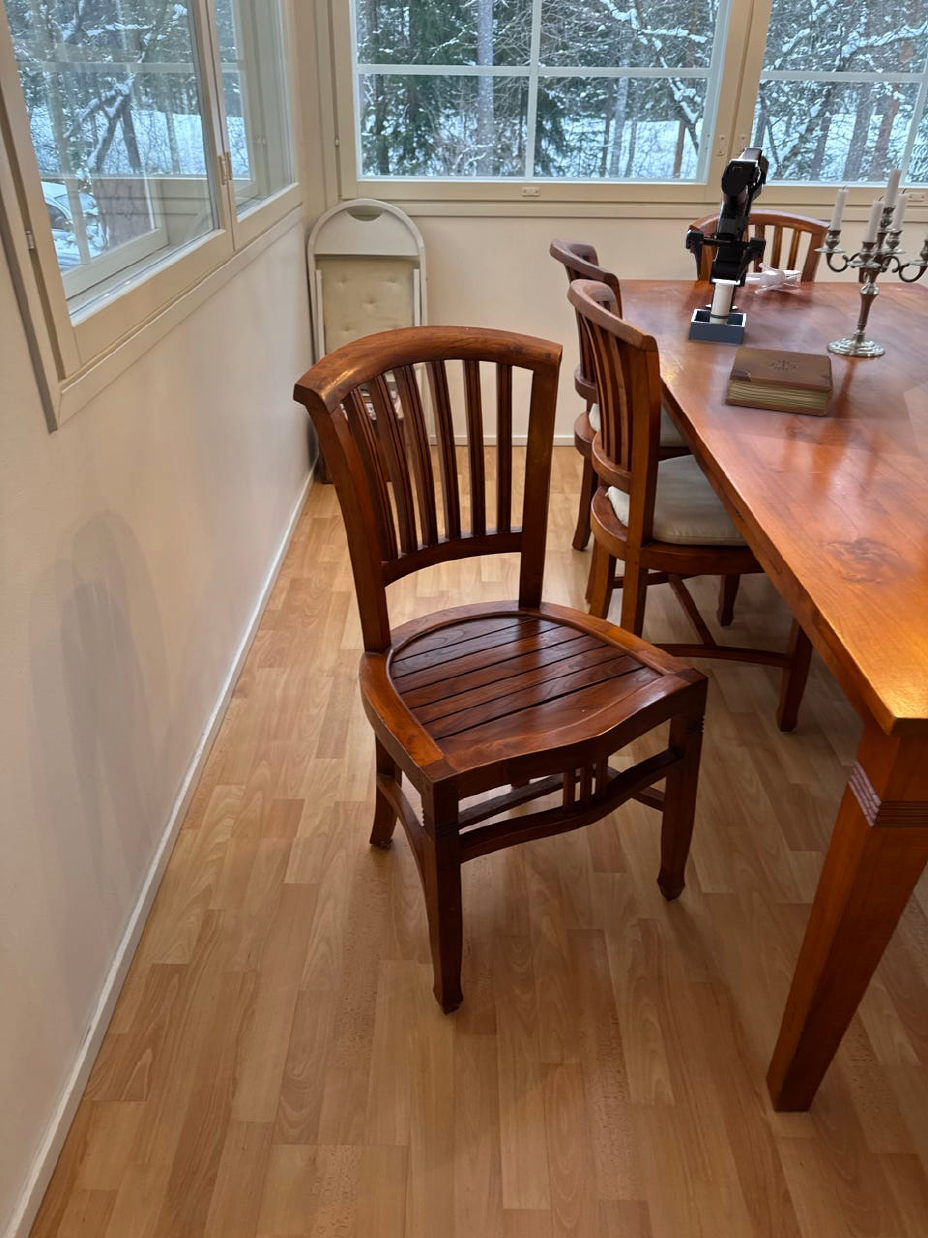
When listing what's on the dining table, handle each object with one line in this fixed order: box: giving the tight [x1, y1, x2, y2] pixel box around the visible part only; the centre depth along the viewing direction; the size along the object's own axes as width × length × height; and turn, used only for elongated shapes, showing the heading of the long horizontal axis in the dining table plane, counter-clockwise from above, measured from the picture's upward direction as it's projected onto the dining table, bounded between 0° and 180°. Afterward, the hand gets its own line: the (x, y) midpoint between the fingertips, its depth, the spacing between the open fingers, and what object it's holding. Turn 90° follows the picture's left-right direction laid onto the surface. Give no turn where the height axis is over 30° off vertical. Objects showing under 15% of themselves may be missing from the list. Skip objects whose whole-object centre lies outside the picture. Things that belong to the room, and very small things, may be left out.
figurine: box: [738, 262, 802, 296], centre depth 255 cm, size 9×12×20 cm
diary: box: [724, 345, 834, 417], centre depth 174 cm, size 23×19×6 cm
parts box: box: [687, 308, 747, 345], centre depth 210 cm, size 13×12×5 cm
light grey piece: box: [709, 282, 734, 324], centre depth 206 cm, size 4×4×12 cm
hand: (717, 279), depth 213 cm, fingers open, 9 cm apart
